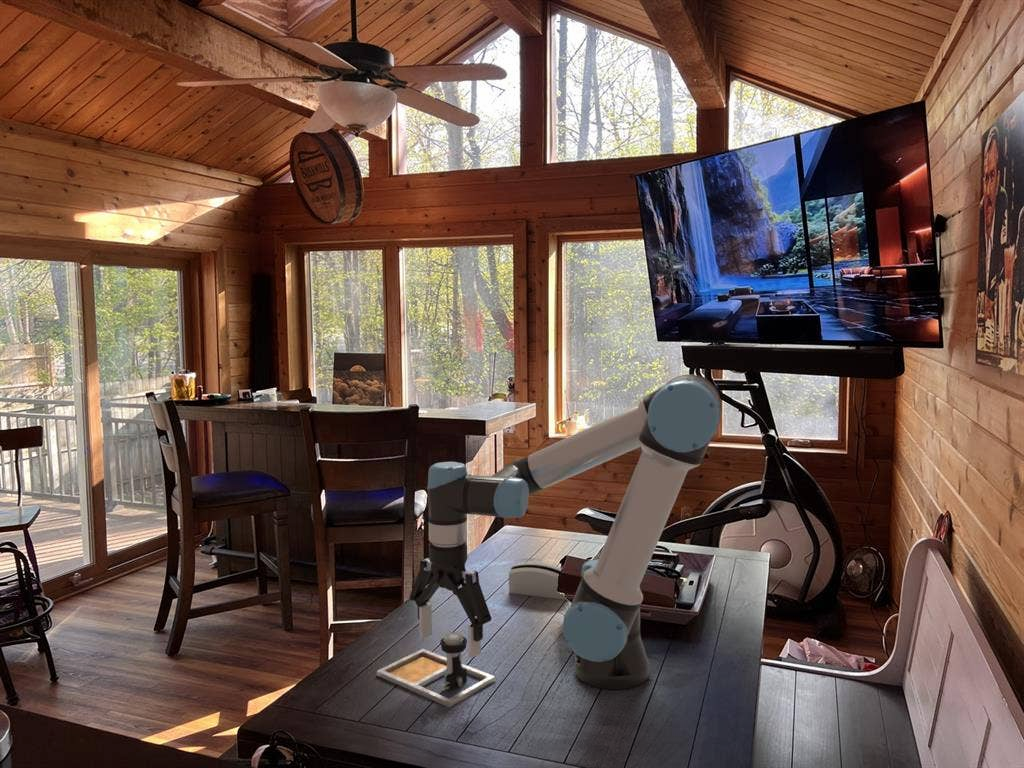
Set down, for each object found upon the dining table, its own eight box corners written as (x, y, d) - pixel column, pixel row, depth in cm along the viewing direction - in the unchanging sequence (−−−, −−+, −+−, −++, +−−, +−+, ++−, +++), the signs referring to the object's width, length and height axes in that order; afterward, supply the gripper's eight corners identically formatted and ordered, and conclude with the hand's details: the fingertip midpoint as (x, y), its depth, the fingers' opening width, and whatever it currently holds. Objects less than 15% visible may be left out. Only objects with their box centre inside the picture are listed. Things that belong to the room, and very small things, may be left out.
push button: (452, 696, 149) (451, 646, 148) (431, 689, 152) (430, 640, 151) (473, 682, 154) (472, 634, 153) (452, 675, 157) (451, 628, 156)
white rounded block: (574, 593, 201) (570, 562, 197) (569, 605, 197) (565, 574, 193) (515, 586, 207) (509, 556, 203) (509, 597, 203) (503, 567, 199)
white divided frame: (495, 681, 154) (494, 676, 154) (449, 707, 144) (449, 702, 144) (423, 653, 168) (422, 648, 168) (376, 675, 158) (376, 670, 158)
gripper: (509, 549, 145) (509, 657, 147) (418, 525, 161) (420, 623, 163) (482, 559, 139) (483, 671, 141) (391, 534, 155) (393, 634, 157)
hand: (449, 645), depth 152 cm, fingers open, 13 cm apart
